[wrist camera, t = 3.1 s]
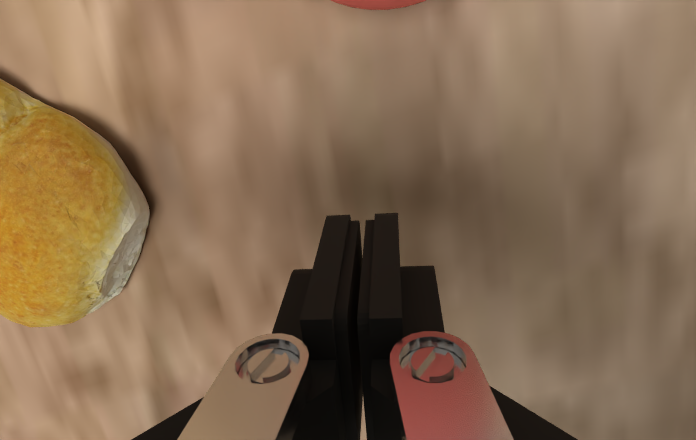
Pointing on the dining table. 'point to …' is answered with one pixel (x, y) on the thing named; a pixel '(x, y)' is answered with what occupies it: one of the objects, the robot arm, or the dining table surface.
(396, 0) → the ball
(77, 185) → the bread roll
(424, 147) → the dining table surface
